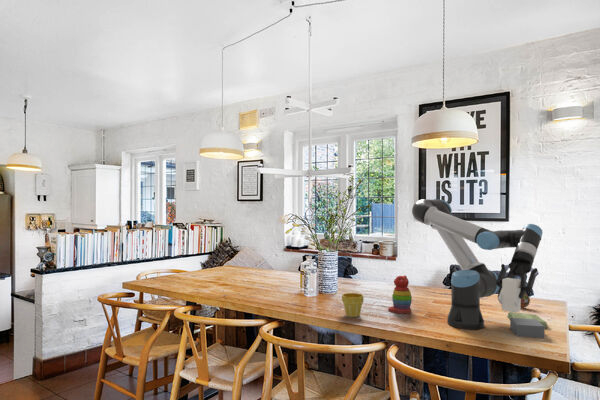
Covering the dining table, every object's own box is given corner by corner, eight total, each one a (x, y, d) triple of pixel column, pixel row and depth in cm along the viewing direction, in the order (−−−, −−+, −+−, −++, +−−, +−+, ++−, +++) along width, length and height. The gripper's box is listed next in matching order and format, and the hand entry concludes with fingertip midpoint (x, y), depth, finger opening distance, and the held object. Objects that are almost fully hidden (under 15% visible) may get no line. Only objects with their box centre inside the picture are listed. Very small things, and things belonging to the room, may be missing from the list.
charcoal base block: (516, 336, 161) (516, 324, 161) (510, 329, 170) (510, 317, 170) (544, 338, 158) (544, 326, 158) (536, 331, 168) (536, 319, 168)
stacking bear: (401, 307, 206) (401, 273, 206) (416, 311, 197) (416, 276, 198) (386, 310, 200) (386, 275, 200) (401, 315, 191) (401, 278, 192)
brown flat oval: (497, 304, 212) (497, 288, 213) (499, 303, 215) (499, 288, 215) (529, 309, 202) (528, 293, 202) (530, 308, 204) (530, 292, 205)
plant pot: (338, 313, 194) (338, 293, 194) (356, 311, 198) (356, 291, 198) (348, 319, 184) (348, 298, 184) (367, 316, 188) (367, 296, 188)
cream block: (515, 312, 151) (516, 281, 151) (501, 310, 154) (502, 279, 154) (520, 310, 154) (521, 279, 154) (506, 307, 158) (507, 277, 158)
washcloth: (536, 318, 187) (536, 311, 188) (549, 329, 170) (549, 322, 170) (505, 316, 191) (505, 309, 191) (515, 327, 174) (515, 320, 174)
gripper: (550, 264, 158) (536, 313, 147) (503, 259, 171) (486, 303, 160) (546, 252, 154) (531, 301, 143) (498, 247, 168) (480, 292, 157)
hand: (507, 302), depth 152 cm, fingers closed on cream block, 5 cm apart
